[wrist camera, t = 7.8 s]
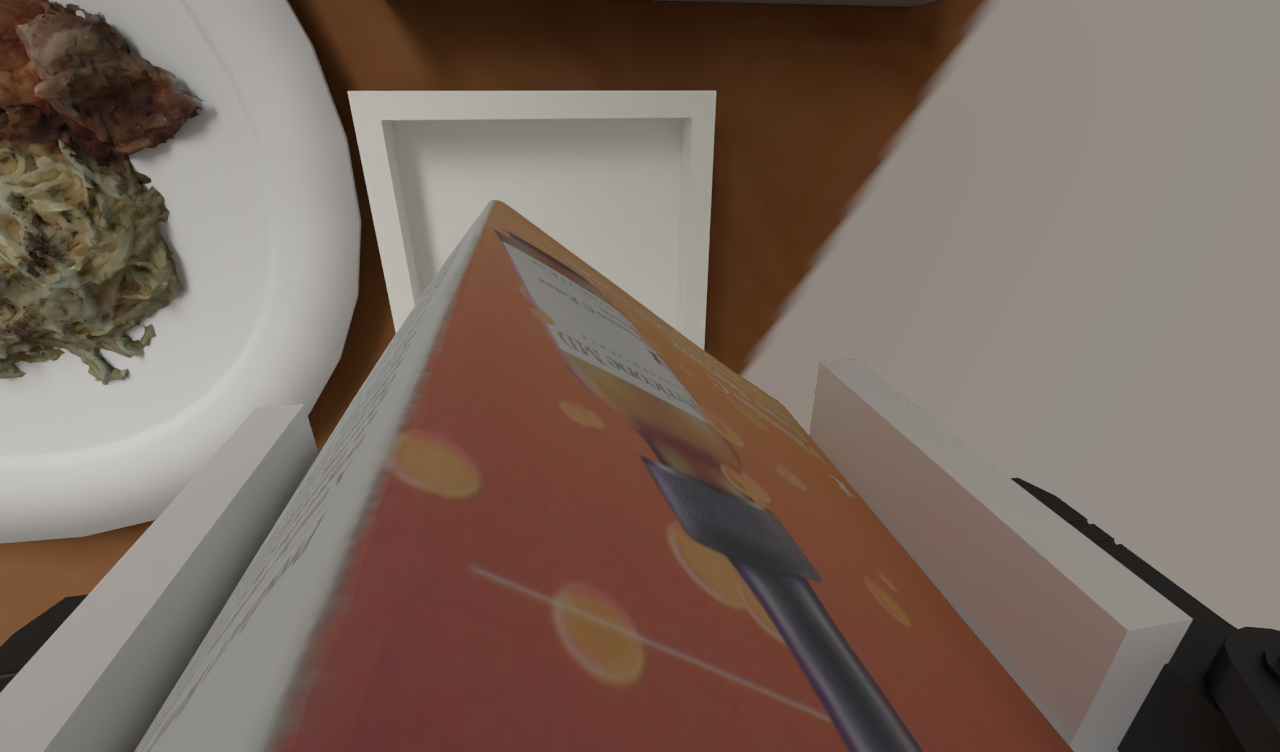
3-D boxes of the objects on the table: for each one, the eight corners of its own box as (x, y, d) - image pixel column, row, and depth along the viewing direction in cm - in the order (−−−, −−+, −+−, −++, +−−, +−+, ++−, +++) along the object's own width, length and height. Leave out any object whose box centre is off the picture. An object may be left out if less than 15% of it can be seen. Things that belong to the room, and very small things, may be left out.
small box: (784, 402, 14) (1367, 1069, 4) (637, 562, 15) (830, 1348, 5) (491, 183, 10) (162, 912, 1) (336, 410, 12) (-449, 1669, 2)
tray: (422, 398, 27) (413, 423, 25) (365, 92, 21) (346, 90, 19) (688, 376, 29) (702, 397, 27) (698, 91, 23) (716, 90, 21)
